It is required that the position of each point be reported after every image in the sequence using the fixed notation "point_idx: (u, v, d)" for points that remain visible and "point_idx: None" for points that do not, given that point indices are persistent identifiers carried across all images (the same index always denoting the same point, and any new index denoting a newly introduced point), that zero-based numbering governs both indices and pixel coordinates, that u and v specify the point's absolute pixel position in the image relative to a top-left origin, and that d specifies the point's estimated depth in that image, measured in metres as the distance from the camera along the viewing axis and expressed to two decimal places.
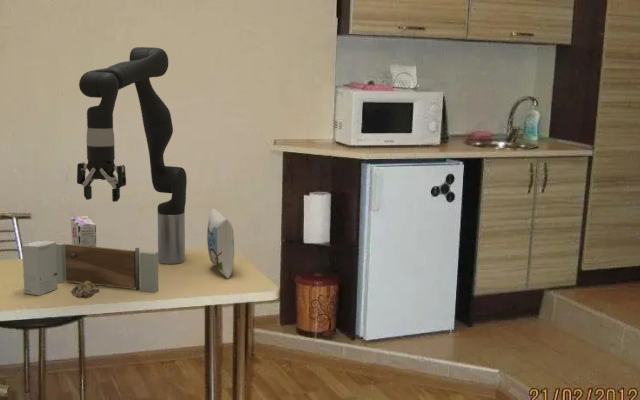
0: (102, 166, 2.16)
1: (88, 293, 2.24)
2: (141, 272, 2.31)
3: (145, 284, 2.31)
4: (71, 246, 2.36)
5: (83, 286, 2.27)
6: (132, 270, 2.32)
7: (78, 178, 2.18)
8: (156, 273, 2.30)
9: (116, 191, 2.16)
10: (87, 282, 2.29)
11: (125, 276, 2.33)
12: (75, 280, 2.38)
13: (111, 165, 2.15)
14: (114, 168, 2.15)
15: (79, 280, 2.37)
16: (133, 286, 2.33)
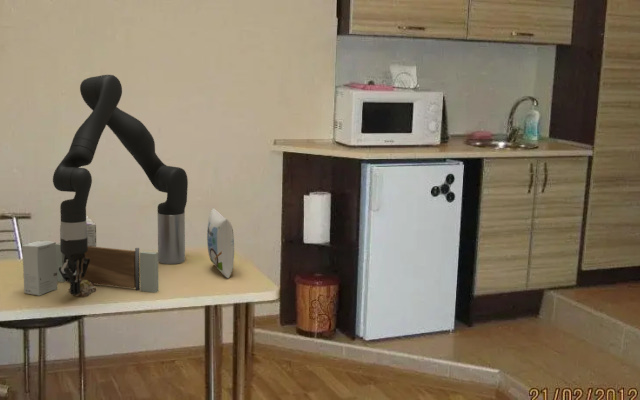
0: (79, 256, 2.22)
1: (85, 292, 2.25)
2: (141, 272, 2.31)
3: (145, 284, 2.31)
4: None
5: (80, 285, 2.27)
6: (132, 270, 2.32)
7: (72, 278, 2.19)
8: (156, 273, 2.30)
9: None
10: (84, 281, 2.30)
11: (125, 276, 2.33)
12: None
13: None
14: (83, 258, 2.25)
15: None
16: (133, 286, 2.33)
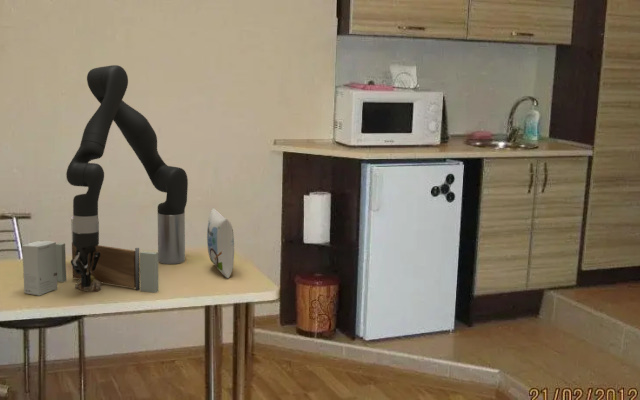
0: (91, 250, 2.28)
1: (99, 286, 2.31)
2: (141, 272, 2.31)
3: (145, 284, 2.31)
4: None
5: None
6: (132, 270, 2.32)
7: (83, 270, 2.25)
8: (156, 273, 2.30)
9: None
10: (91, 277, 2.34)
11: (126, 276, 2.33)
12: None
13: None
14: (94, 252, 2.31)
15: None
16: (133, 286, 2.33)
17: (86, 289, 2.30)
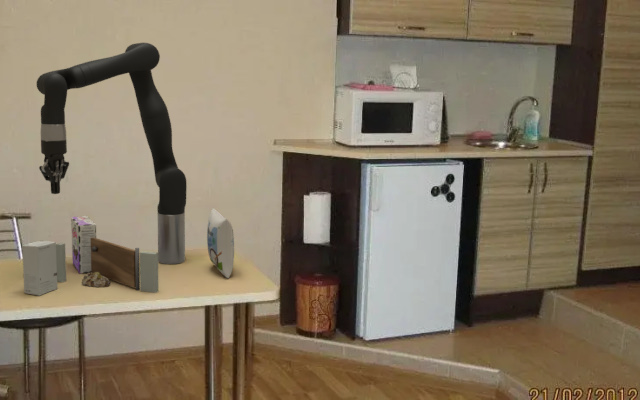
0: (59, 158, 2.38)
1: (109, 282, 2.36)
2: (141, 272, 2.31)
3: (145, 284, 2.31)
4: (94, 240, 2.45)
5: (99, 277, 2.37)
6: (133, 269, 2.32)
7: (52, 177, 2.35)
8: (156, 273, 2.30)
9: None
10: (97, 273, 2.39)
11: (128, 275, 2.34)
12: None
13: None
14: (63, 161, 2.42)
15: None
16: (133, 285, 2.33)
17: (97, 285, 2.34)
